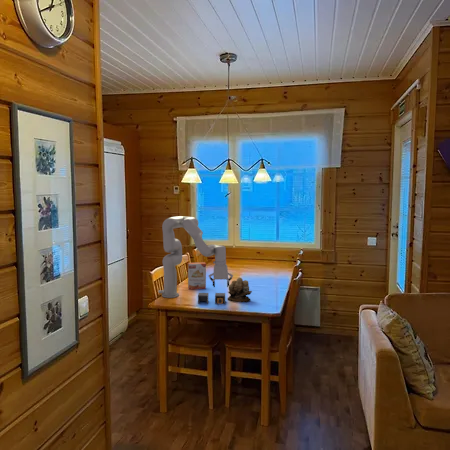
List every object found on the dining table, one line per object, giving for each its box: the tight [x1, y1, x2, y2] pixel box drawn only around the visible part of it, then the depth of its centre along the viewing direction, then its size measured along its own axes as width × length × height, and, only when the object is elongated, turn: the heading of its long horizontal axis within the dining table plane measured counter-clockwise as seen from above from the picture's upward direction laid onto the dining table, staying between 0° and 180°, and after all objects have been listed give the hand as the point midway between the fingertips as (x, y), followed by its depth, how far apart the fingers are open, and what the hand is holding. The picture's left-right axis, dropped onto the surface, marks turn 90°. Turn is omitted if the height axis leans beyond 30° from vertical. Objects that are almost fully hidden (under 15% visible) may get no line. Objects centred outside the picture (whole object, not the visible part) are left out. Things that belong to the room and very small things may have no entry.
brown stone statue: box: [227, 276, 253, 303], centre depth 298 cm, size 18×12×17 cm, turn 75°
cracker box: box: [187, 261, 207, 290], centre depth 330 cm, size 14×6×21 cm, turn 101°
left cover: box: [197, 292, 209, 305], centre depth 292 cm, size 7×7×6 cm
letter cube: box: [216, 297, 224, 305], centre depth 291 cm, size 4×4×4 cm
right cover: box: [214, 292, 226, 305], centre depth 292 cm, size 7×7×6 cm
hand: (221, 286), depth 291 cm, fingers open, 9 cm apart
